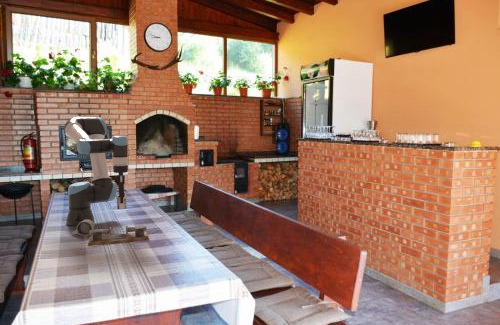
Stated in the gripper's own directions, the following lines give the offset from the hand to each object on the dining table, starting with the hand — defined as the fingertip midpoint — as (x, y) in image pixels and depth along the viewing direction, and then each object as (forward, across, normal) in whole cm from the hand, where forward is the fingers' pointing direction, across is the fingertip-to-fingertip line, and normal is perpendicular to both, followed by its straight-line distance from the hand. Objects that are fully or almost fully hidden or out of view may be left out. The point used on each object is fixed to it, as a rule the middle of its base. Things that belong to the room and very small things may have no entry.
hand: (121, 207), depth 210 cm
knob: (0, 0, 0) cm, 0 cm away
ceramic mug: (+13, -1, +19) cm, 23 cm away
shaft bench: (+13, -16, +2) cm, 21 cm away
